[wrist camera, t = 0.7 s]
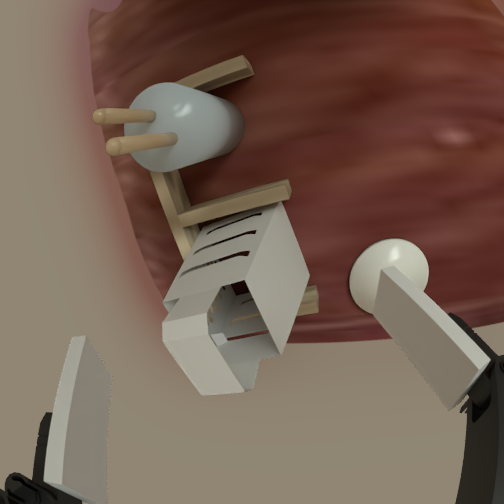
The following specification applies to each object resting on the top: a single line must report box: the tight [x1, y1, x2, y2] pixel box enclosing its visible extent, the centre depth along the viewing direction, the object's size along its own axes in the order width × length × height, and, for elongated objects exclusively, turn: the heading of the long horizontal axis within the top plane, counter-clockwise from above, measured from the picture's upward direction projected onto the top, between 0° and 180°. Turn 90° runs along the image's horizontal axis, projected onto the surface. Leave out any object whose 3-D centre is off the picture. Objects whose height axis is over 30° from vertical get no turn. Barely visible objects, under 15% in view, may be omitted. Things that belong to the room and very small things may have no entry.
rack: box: [129, 55, 319, 325], centre depth 32 cm, size 30×14×4 cm, turn 18°
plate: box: [349, 238, 429, 314], centre depth 34 cm, size 11×11×1 cm
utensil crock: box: [92, 83, 245, 172], centre depth 21 cm, size 7×7×20 cm
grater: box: [162, 201, 310, 395], centre depth 27 cm, size 10×10×20 cm
